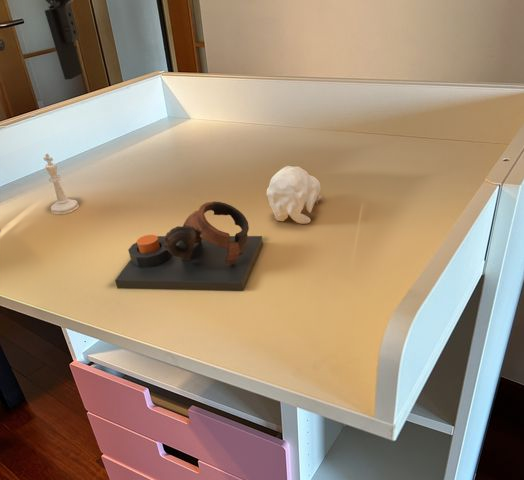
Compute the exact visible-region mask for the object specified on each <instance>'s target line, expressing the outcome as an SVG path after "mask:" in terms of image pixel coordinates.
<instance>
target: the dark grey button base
mask: <svg viewBox="0 0 524 480" xmlns="http://www.w3.org/2000/svg"><path fill="white" fill-rule="evenodd" d="M156 236H157V237H158V240H159V244H160V249H159V250H157V251H155V252H151V253H140V252H139V248H138V244H137V241H136V242H134V243H132V245H131V246H130V247H129V248H128V249H127V250H128V254H129V258H130V260H129V261H128V263H127V264H126V265H125V266H124V268H123V269H122V270H121V271H120V272H119V274H118V275H117V277H116V278H115V279H114V282H115V284H116V288H117V289H126V290H127V289H129V290H130V289H131V290H171V291H173V290H174V291H216V292H217V291H220V292H221V291H222V292H243V291H244V290H245V287H246V285H247V283H248V280H249V278H250V275H251V273H252V271H253V268H254V266H255V264H256V261H257V259H258V257H259V254H260V252H261V249H262V248H263V245H264V241H263V236H262V235H248V243H247V246H246V248H245V250H244V252H243V253H242V254H241V255H239V257H238V260H236V262H235V264H226V262H225V260H226V257H227V252H228V249H226V248H222V247H220V246H218V245H216V244H214V243H210V242H208V241H207V240H205V239H203V238H202V241H201V243H195V244H194V246H193V250H192V255H191V261H190V262H187V261H184V260H183V259H181V257H176V256H173V255H172V254H170V252H169V251H168V250H167V249H166V248H165V244H164V239H165V236H166V235H156ZM229 241H235V235H230V240H229ZM179 242H180V241H179ZM179 242H177V243H176V246H178V245H179Z"/></svg>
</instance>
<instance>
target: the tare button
mask: <svg viewBox="0 0 524 480" xmlns="http://www.w3.org/2000/svg"><path fill="white" fill-rule="evenodd" d="M157 236H158V235H156V234H146V235H143V236H141V237H139V238H138V239H137V240H136V242H137V244H138V248H139V252H140V253H151V252H155V251H157V250H159V249H160V244H159V240H158V237H157Z"/></svg>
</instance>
